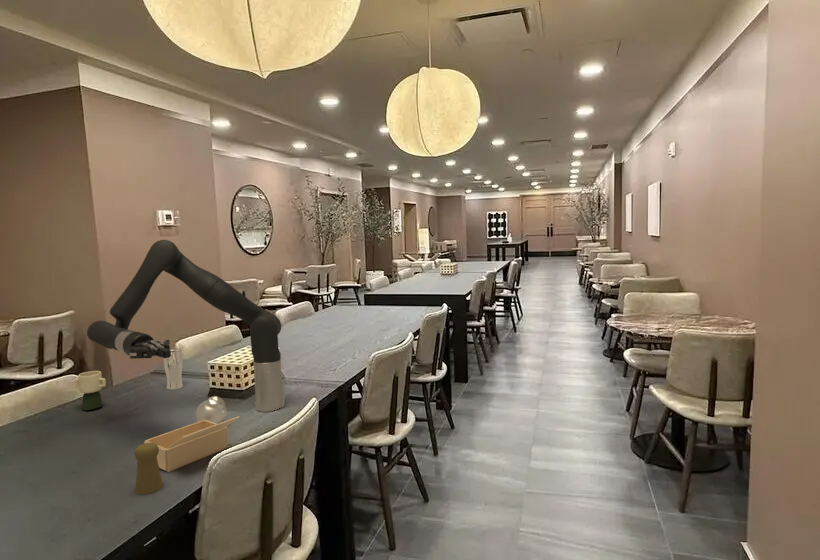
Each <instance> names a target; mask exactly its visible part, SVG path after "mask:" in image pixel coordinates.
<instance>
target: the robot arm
mask: <svg viewBox="0 0 820 560" xmlns="http://www.w3.org/2000/svg"><path fill="white" fill-rule="evenodd" d="M162 272H165V273H167V274H169V275H171V276H173V277H174V278H176V279H178V280H179V281H181V282H182V283H184V284H185V285H186V286H187V287H188V288H189V289H190V290H191V291H192V292H194V293H195V294H196V295H197V296H199V297H200V298H201V299H203V300H204V301H205V302H206V303H208V304H209V305H210V306H212V307H214V308H216V309H217V310H219V311H221V312H223V313H226V314H228V315H231V316H234V317H235V318H238V319H241V321H243V322H245V324H247V325H248V326H250V328H249V329H250V331H249V334H250V346H251V355H252V357H253V373H254V374H253V375H254V390H255V391H254V393H255V394H254V395H255V398H254V399H255V410H256V411H258V412H263V413H266V412H274V410H275V411H278V410H280V409H282V408H284V407H283V406H285V407H286V405H285V404H286V401H285V398H286V397H285V381H284V380H283V379H282V378H283V377H282V357H281V354H282V353H281V350H280V349H279V348H280V347H279V336H278V335H279V334H280V333H281V331H282V323H281V321H280V318H279V317H277V316H276V315H275V314H273V313H272V312H270V311H268V310H266V309H265V308H262V307H261V306H259V305H258V304H256V303H254V302H253V301H251V300H250V299H249V298H248V297H247V296H245V295H244V294H243V293H241V292H240V291H238V289H236V288H235V287H234V286H232V285H231V284H229V283H228V282H227V281H225V280H224V279H223V278H221V277H219V276H218V275H216V274H214V273H212V272H210V271H208V270H206V269H204V268H202V267H200V266H199V265H197V264H196V263H193V261H191V260H190V259H189V258H187V257H186V256H185V255H184V254H183V253H182V251H180V249H179V247H178V246H177V245H176V244H175V243H174V242H172V241H171V240H168V239H160V240H157V241H155V242H154V243H152V244H151V246H150V248H149V250H148V251H147V254H146V256H145V257H144V259H143V261H142V263H141V265H140V267H139V269H138V270H137V272H136V273H135V275H134V276H133V278H132V280H131V281H130V282H129V284H128V285H127V286H126V288H125V289H124V291H123V292H122V293H121V294H120V296H119V297H118V299H117V300H116V301H115V302H114V303H113V305H112V306H111V307H110V310H109V314H110V315H111V316H112V317H113V318H114V319H115V320H116V321H115V324H112V323H110V322H108V321H106V320H97V321H94V322H92V323H91V324H90V325H89V326H88V328H87V331H86V336H87V338H88V339H89V340H90V341H91V342H93V343H96V344H98V345H100V346H102V347H104V348H106V349H110V350H112V349H113V350H115V351H117V352H120V353H122V354H124V355H127V356H129V359H133V360H134V359H152V358H153V357H154V358H158V357H159V358H163V359H164V358H169V357H171V351H170V350H171V341H170V339H166V340H165V341H163V342H161V341H160V340H155V339H154V338H153V337H152V336H151V335H149V334H147V333H144V332H141V331H136V330H131V329H129V326H130V324H131V322H132V320H133V318H134V317H135V316H136V314H137V313H138V312H139V310H140V309H141V307H142V305H143V304H144V303H145V301H146V299H147V297H148V295H149V293H150V290H151V289H152V287H153V286H154V283H155V282H156V280H157V279H158V277H159V276H160V275H161V273H162ZM281 407H282V408H281ZM279 408H280V409H279ZM277 409H278V410H277Z"/></svg>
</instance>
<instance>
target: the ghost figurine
mask: <svg viewBox="0 0 820 560" xmlns="http://www.w3.org/2000/svg"><path fill="white" fill-rule="evenodd" d="M227 412H228V408H227V407H226V402H225V401H224V399H222V398H221V397H220V396H217V395H213V396H211V397H209V398H207V400H204V401H202V402H201V403H200V404H199V405H198V407H197V408H196V411H195V419H196V421H197V422H200V421H203V420H207V421H210V422H213V423H216V424H218V423H221V422H224V419H225V418H226V417H227V414H228V413H227Z"/></svg>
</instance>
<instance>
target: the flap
mask: <svg viewBox="0 0 820 560" xmlns="http://www.w3.org/2000/svg"><path fill="white" fill-rule="evenodd" d="M240 417H241V416H240V415H239V416H235V417H233V418H229V419H227V420H223V421H222V422H221V423H218V424H216V425H213V426H210V427H207V428H205V429H202V430H199V431H196V432H194V433H191V434H188V435H185V436H183V437H181V438H180V439H179V440H177V441H176V442H175V443H174V444H172V445H171V446H170V447H169V448H172V447H174V446H177V445H180V444H182V443H185V442H187V441H190V440H193V439H195V438H198V437H201V436H203V435H206V434H209V433H211V432H214V431H217V430H219V429H222V428H225V427H227V428H228V426H229V425H230V424H232V423H233V422H235V421H236V420H237V419H239V418H240Z"/></svg>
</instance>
